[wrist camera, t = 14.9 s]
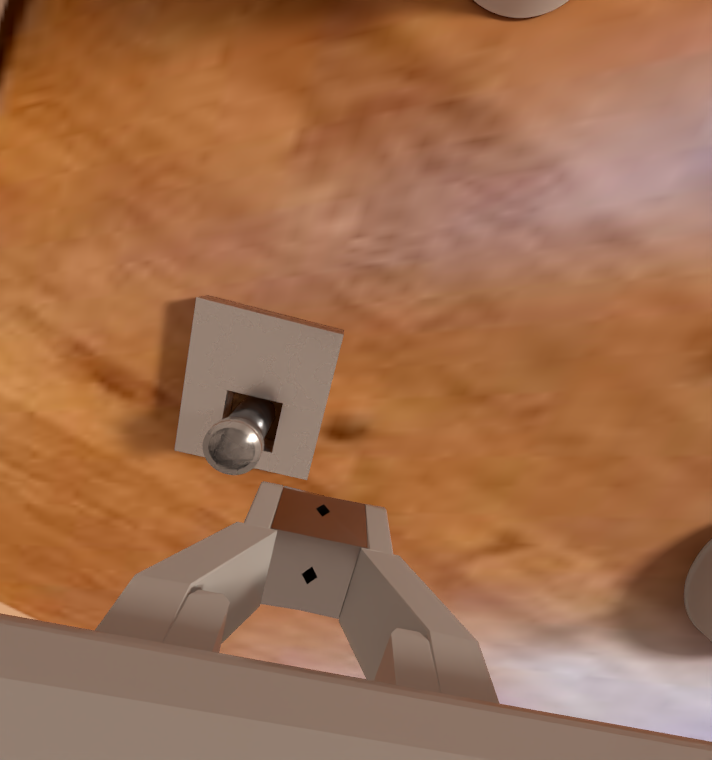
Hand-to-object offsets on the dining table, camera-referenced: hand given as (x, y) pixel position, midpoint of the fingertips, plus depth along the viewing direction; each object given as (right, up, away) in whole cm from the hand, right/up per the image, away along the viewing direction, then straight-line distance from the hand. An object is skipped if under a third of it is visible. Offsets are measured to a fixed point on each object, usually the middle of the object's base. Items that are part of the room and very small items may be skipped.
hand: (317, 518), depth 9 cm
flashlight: (-10, 0, +32) cm, 34 cm away
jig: (-9, +3, +31) cm, 33 cm away
